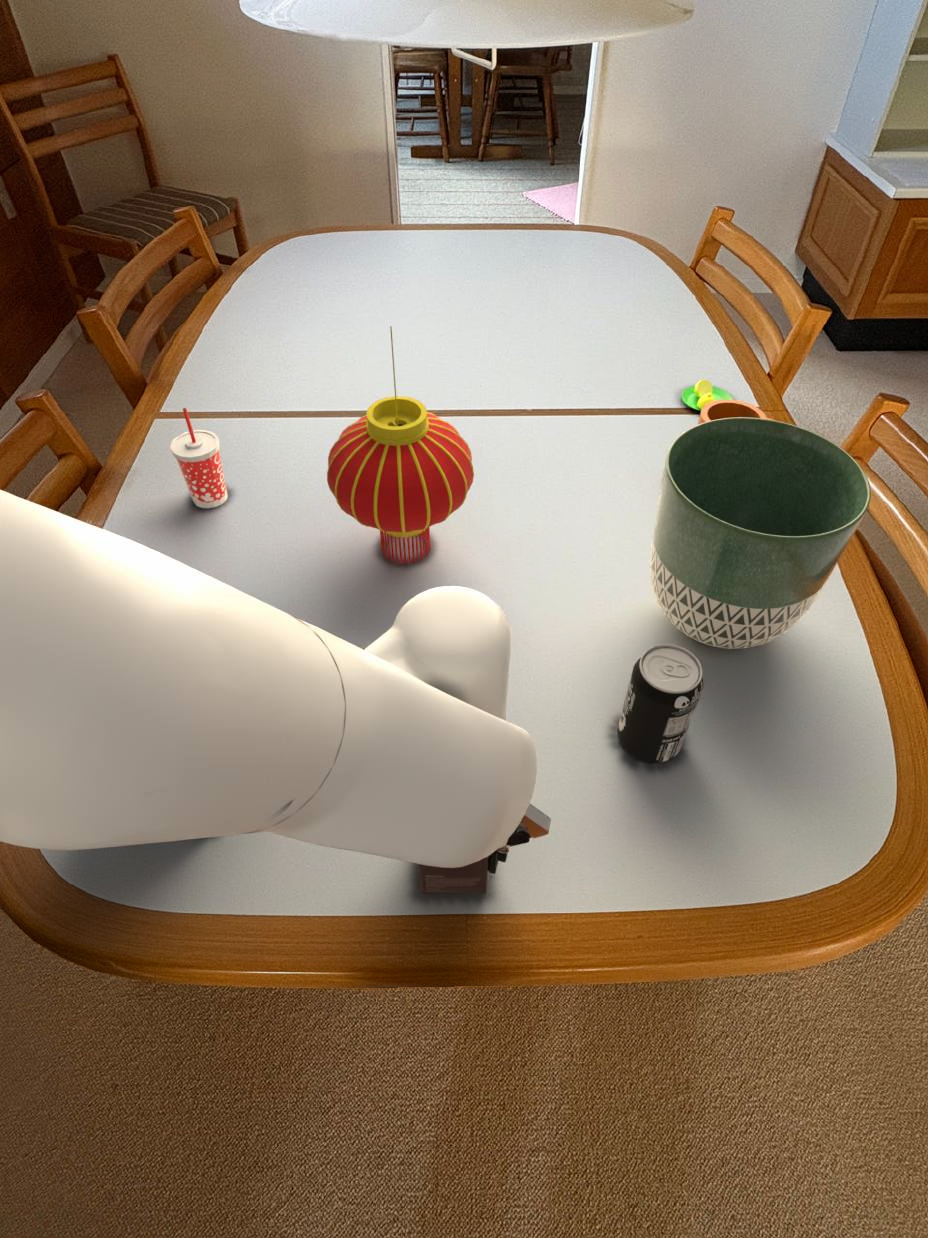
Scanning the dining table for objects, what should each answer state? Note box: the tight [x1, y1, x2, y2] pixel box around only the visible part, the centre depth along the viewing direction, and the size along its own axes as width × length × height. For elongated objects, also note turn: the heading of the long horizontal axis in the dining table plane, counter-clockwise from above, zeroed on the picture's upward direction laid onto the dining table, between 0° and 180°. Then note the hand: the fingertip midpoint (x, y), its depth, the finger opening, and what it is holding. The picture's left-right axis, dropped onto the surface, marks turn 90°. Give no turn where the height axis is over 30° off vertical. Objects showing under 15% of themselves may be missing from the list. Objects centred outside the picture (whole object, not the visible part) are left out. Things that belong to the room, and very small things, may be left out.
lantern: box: [326, 325, 475, 565], centre depth 90 cm, size 17×17×30 cm
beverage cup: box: [170, 407, 228, 509], centre depth 103 cm, size 6×6×14 cm
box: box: [417, 856, 489, 894], centre depth 69 cm, size 6×6×7 cm
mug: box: [697, 399, 776, 425], centre depth 109 cm, size 9×12×9 cm
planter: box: [649, 417, 872, 650], centre depth 85 cm, size 20×20×21 cm
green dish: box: [681, 379, 734, 412], centre depth 124 cm, size 8×8×3 cm
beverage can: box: [616, 643, 705, 765], centre depth 77 cm, size 7×7×12 cm
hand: (453, 847), depth 70 cm, fingers closed on box, 6 cm apart
